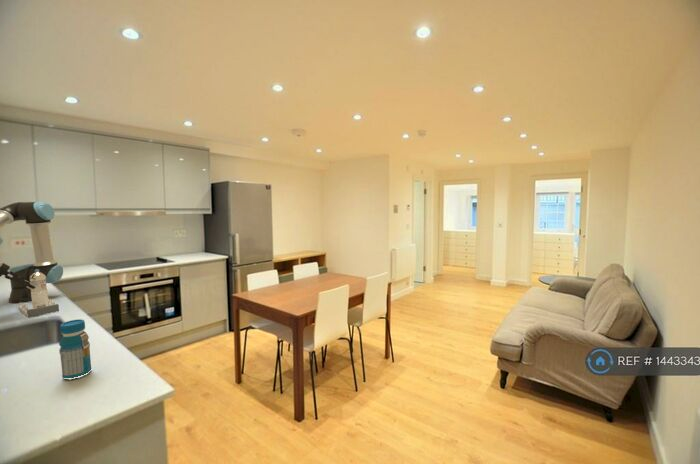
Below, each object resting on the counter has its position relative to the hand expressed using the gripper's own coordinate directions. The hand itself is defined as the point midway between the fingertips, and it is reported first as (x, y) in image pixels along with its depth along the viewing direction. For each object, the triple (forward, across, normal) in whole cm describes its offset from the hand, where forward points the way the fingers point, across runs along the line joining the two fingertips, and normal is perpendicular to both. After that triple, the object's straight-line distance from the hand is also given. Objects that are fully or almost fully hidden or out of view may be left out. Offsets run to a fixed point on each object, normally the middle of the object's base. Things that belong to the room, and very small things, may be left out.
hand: (37, 289), depth 184 cm
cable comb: (+10, -7, -9) cm, 16 cm away
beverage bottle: (+3, +106, -17) cm, 107 cm away
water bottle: (+10, 0, -9) cm, 14 cm away
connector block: (+10, +5, -9) cm, 15 cm away
